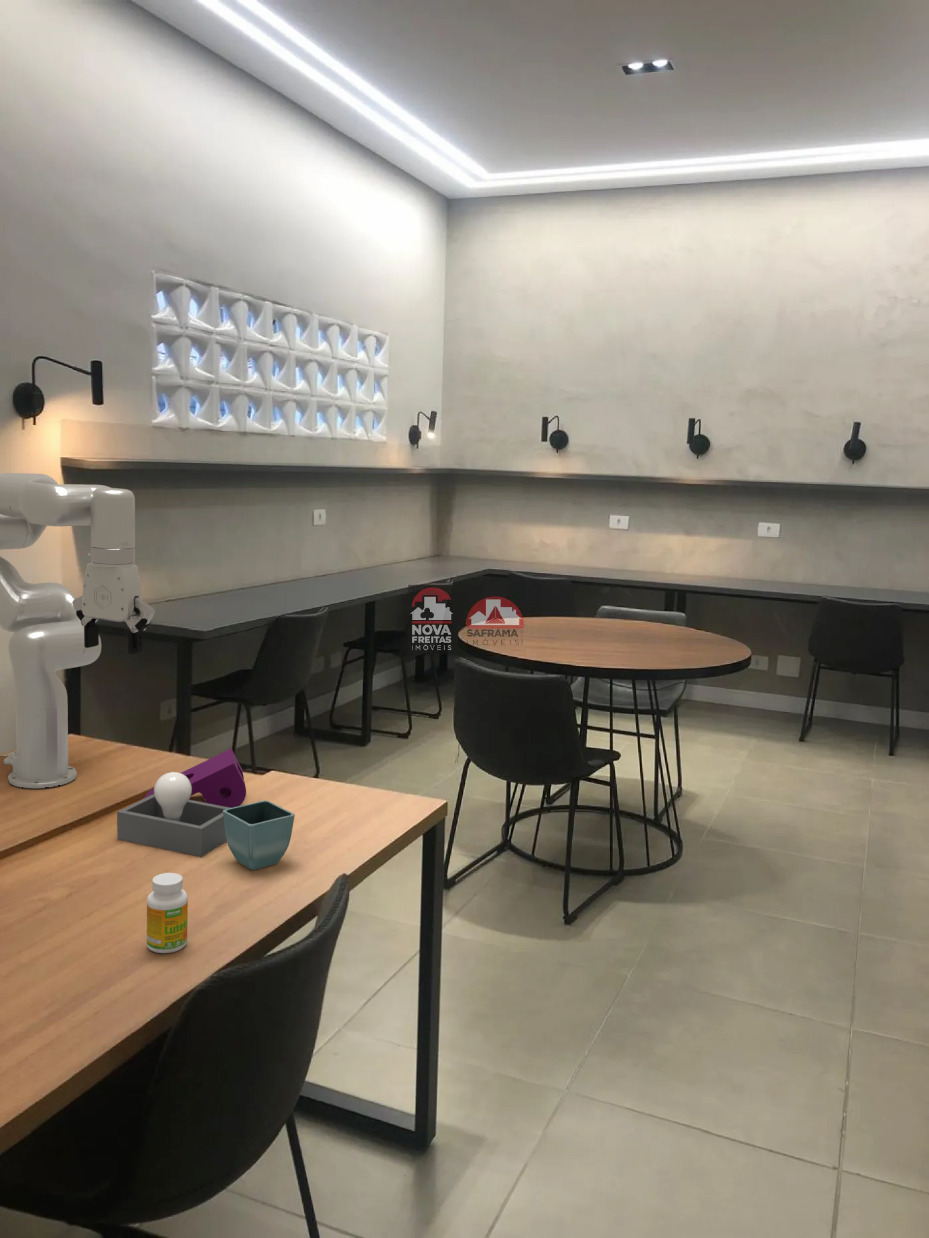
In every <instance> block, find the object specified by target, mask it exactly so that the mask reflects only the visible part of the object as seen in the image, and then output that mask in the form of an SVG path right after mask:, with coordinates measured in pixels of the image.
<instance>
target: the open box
mask: <svg viewBox="0 0 929 1238" xmlns="http://www.w3.org/2000/svg"><path fill="white" fill-rule="evenodd" d="M225 809H229V807H224V806H219V805H214V804H208V803H206V802H202V801H196V800H192V799H189V800H188V802H187V803H186V805H185V806H184V808H183V812H182V815H181V820H180V822H179V821H174V820H169V819H165V817H164V815H163V811H162V808H161V806H160V805H159V803H158V802H157V800H156V798H155V796H154V794H152V795H150V796H148V797H146V798H145V797H144V798H142V799H140V800H138V801H137V802H134V803H132V804H130V805H128V806H126V807H124V808H121V809H119V810H118V811H117V812H116V820H117V821H116V822H117V823H116V826H117V827H116V829H117V831H116V834H117V835H116V837H117V840H120V841H124V842H127V843H134V844H138V845H144V846H148V847H153V848H157V849H162V850H167V851H172V852H176V853H180V854H181V853H182V854H185V855H190V856H195V857H199V858H202V857H204V856H205V855H207V854H208V853H210V852H212V851H213V850H215V849H217V848H218V847H219V846H221V845H222V844H225V843H227V840H226V834H225V826H224V816H223V810H225Z"/></svg>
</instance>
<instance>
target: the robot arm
mask: <svg viewBox="0 0 929 1238" xmlns="http://www.w3.org/2000/svg"><path fill="white" fill-rule="evenodd" d="M80 526H83V527H84V526H86V527H89V526H90V548H88V549H87V551H86V554H87V556H89V557H90V562H88V563H87V564H86V567H85V572H84V576H83V585H82V595H81V596H79V597H76V596H75V595H74V593H73V592H72V591H71V590H70V589H69V588H68V587H67V586H65V585H63V584H61V583H58V582H44V583H43V582H41V583H29V582H27V581H26V580H25V579H23V577H22V576H21V575H20V573H19V572H18V570H17V568H16V567H15V566H14V565H13V564H12V563H10V562H9V561H8V560H6V559H5V558H3V557H2V556H0V628H2V629H3V630H4V631H7V632H8V633H9V632H10V633H13V634H12V635H11V637H10V639H9V640H8V654H9V660H10V665H11V668H12V673H13V681H14V697H15V699H14V702H15V703H14V704H15V731H16V733H15V734H16V735H15V736H16V737H15V738H16V739H15V740H16V741H15V742H16V743H15V744H16V746H15V747H16V752H13V751H11V752H9V753H8V754H7V757H5V758H4V759H3V764H5V765H7V766H12V771H11V772H10V773H9V774H8V783H9V784H10V785H12V786H14V787H17V788H22V787H23V788H24V789H46V788H45V787H49V788H54V786H55V787H59V786H58V785H60V786H63V785H66V784H68V783H71V782H73V781H74V780H75V779H76V777H77V770H76V768H75V767H73V766H72V765H71V766H70V765H69V731H68V730H69V724H68V723H69V721H68V718H69V717H68V716H69V715H68V714H69V713H68V711H69V710H68V706H69V705H68V703H69V702H68V693H67V691H68V690H67V689H66V686H65V685H64V683H63V682H62V681H61V679H60V678H59V677H58V675H57V673H56V672H57V671H61V670H62V671H63V670H67V669H73V668H78V667H85V666H87V665H90V664H93V663H94V662H95V661H97V660H98V658H99V657H100V655H101V653H102V640H101V636H100V634H99V632H100V631H99V629H100V627H99V623H98V624H97V622H98V621H99V620H102V621H109V622H117V623H118V622H119V623H121V622H125V623H126V625H127V627H128V628H129V629H130V632H128V633H127V634H128V636H127V638H128V639H127V642H128V646H127V647H128V648H127V649H128V651H127V652H128V654H130V655H134V654H139V653H141V652H143V646H144V643H143V642H144V631H146V629H147V628H148V627H149V625H151V623H152V620H153V618H154V615H155V613H156V609H155V608H154V607H152V606H151V605H150V604H148V603H147V602H146V601H144V600H143V598H142V596H143V595H142V584H141V577H140V573H139V572H140V571H139V568H138V565H136V547H135V546H136V497H135V495H134V492H133V491H131V490H129V489H127V488H116V487H110V486H107V485H102V484H79V483H78V484H73V483H72V484H71V483H68V484H67V483H65V484H63V483H60V484H58V482H57V481H56V480H55V479H54V478H53V477H51V476H49V475H47V474H44V473H21V472H20V473H19V472H18V473H17V472H15V473H13V472H12V473H11V472H6V473H5V472H4V473H0V551H1V550H20V549H25V548H29V547H31V546H33V545H34V544H35V543H36V542H37V541H38V540H39V538H40V537H41V535H42V534H43V533H44V531H45V530H46V529H47V527H80ZM142 613H143V616H142V618H141V615H142Z"/></svg>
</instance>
